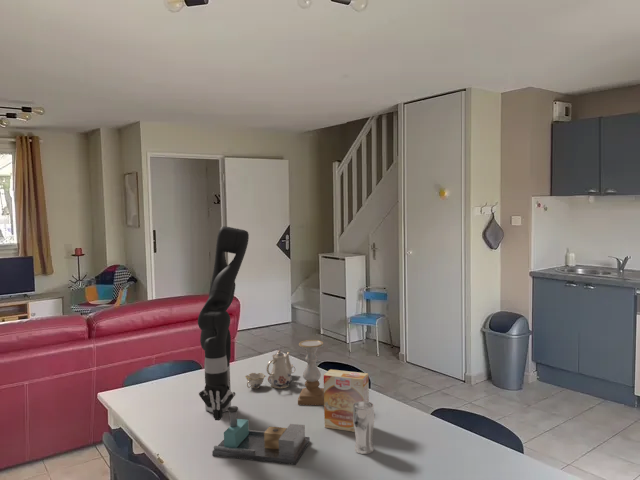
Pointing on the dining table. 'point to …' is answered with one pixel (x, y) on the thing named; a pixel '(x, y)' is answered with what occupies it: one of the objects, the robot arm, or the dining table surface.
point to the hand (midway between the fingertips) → (218, 419)
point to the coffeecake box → (343, 397)
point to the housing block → (273, 437)
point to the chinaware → (274, 372)
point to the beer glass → (363, 426)
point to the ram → (235, 429)
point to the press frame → (254, 448)
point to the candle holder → (311, 375)
